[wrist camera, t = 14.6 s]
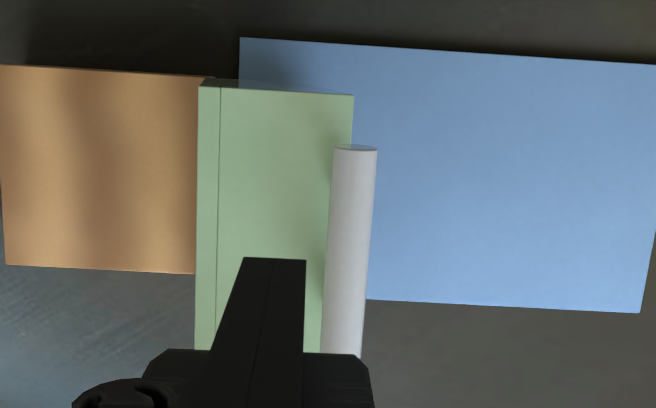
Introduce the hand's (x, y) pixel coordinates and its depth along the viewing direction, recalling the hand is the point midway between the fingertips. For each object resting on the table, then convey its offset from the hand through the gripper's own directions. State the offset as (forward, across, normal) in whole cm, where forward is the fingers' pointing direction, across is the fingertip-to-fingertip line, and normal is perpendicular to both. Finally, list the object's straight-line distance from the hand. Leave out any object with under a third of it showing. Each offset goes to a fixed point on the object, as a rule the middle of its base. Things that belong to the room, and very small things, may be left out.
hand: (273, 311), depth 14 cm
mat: (+23, +10, -1) cm, 25 cm away
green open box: (+13, -4, -1) cm, 13 cm away
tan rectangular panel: (+23, -11, -1) cm, 26 cm away
